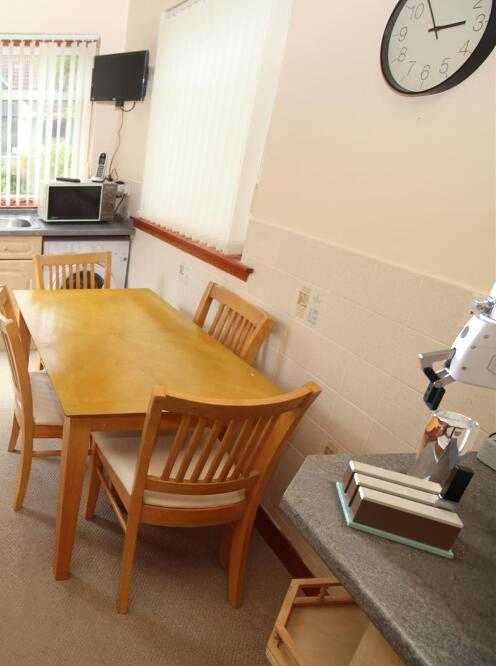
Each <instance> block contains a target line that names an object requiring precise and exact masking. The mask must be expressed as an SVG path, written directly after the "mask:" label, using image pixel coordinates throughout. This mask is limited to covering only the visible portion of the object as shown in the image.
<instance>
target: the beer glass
mask: <svg viewBox="0 0 496 666" xmlns="http://www.w3.org/2000/svg"><path fill="white" fill-rule="evenodd" d="M481 428H482V427H481V424H480V423H479V422H478V421H476V420H475V419H473V418H471V417H469V416H468V415H465V414H462V413H459V412H456V411H453V410H449V409H448V410H447V409H437V410H435V411H433V410H432V413H431V414H430V417H429V418H428V419H427V421H426V423H425V424H424V426H423V428H422V431H421V433H420V436H419V439H418V444H417V450H416V454H415V459H414V461H413V462H412V465H411V466H410V467H409V468H408V470H407V471H406V472H405V473H404V475H408V476H412V477H416V478H419V479H423V480H427V481H430V482H434V483H438V484H439V485H440V486H441V488H443V486H444V484H445V482H446V480H447V479H448V477H449V475H450V473H451V471H452V469H453V467H454V465H455V464H456V465H460V464H461V463H462V462H463V461H464V460H465V458H467V456H468V455H469V453H470V451H472V448H473V446H474V444H475V442H476V440H477V437H478V434H479V432H480V429H481Z"/></svg>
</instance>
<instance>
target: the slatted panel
mask: <svg viewBox="0 0 496 666" xmlns="http://www.w3.org/2000/svg"><path fill="white" fill-rule="evenodd" d="M335 487H336V490H337V493H338V497H339V500H340V503H341V507H342V511H343V514H344V517H345V521H346V524H347V527H350V528H353V529H356V530H359V531H361V532H365V533H368V534H371V535H375V536H378V537H381V538H383V539H388V540H391V541H394V542H397V543H400V544H402V545H406V546H409V547H413V548H416V549H418V550H422V551H425V552H428V553H431V554H435V555H438V556H441V557H444V558H447V559H451V560H452V559H454V556H455V555H454V553H453V552H452V547H453V545H454V544H455V542H456V540H457V538H458V536H459V535H460V533H461V531H462V529H463V528H464V524H463V522H462V520H461V519H460V517H459V514H458V513H455V512H453V513H452V512H449V511H445V510H442V509H438V508H435V507H433V505H434V503H435V501H436V499H437V498H438V496H439V495H440V492H441V490H442V488H441V486H440V485H439V484H438V483H434V482H430V481H427V480H423V479H419V478H416V477H412V476H408V475H405V473H400V472H397V471H393V470H389V469H385V468H382V467H378V466H375V465H371V464H368V463H364V462H359V461H357V460H353V459H350V461H349V463H348V465H347V468H346V470H345V473H344V475H343V478H342V480H341V481H338V480H337V481H336V483H335Z"/></svg>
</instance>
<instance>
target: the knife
mask: <svg viewBox="0 0 496 666" xmlns="http://www.w3.org/2000/svg"><path fill="white" fill-rule="evenodd" d="M474 475H475V471H474V470H473V468H472V467H467V466H464V465H460V464H459V465H456V464H455V465H454V467H453V469H452V471H451V473H450V475H449V477H448V479H447V480H446V482H445V484H444V486H443V488H442V490H441V492H440V495H439V496H438V498H437V499H436V501H435V503H434V505H433V507H435V508H438V509H442V510H445V511H449V512H452V513H455V511H456V509H457V506H458V504H459V503H460V501H461V499H462V498H463V495H464V494H465V492H466V490H467V488H468V486H469V485H470V483H471V481H472V479H473V478H474Z"/></svg>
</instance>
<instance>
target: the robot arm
mask: <svg viewBox="0 0 496 666" xmlns="http://www.w3.org/2000/svg"><path fill="white" fill-rule="evenodd" d="M471 309H472V310H478V312H479V313H480V314H476V313H475V314H474V315H473V316H472V317H471V319H470V320H469V321H468V322H466V324H465V325H464V327H463V328H462V330H461V331H460V333H459V334H458V336H457V337H456V338H455V340H454V342H453V343H452V345H451V347H450V348H448V349H442V350H435V351H434V350H433V351H428V352H423V353H419V354H418V361H419V365H420V370H421V371H422V373H423V374H424V376H426V378H427V379H428V381H429V383H428V385H427V388H426V390H425V391H424V394H423V397H422V400H423V402H424V404H425V405H426V406H427V408H428V410H430V411H432V412H433V411H435V410H439V409H438V408H439V406H440V404H441V403H442V401H443V398H444V396H445V394H446V388H445V386H448V385H451V384H452V383H454V382H458V383H461V384H465V385H469V386H474V387H479V388H484V389H488V390H492V391H493V390H494V391H496V282H494V285H493V287H492V289H491V291H490V294H489V295H487V296H486V297H485V299H481V300H477V299H474V300H473V302H472V304H471ZM442 361H443V367H442V368H441V369H439V370H437V371H435V370H434V368H433V367H434V366H433V364H434V363H436V362H442Z"/></svg>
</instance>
